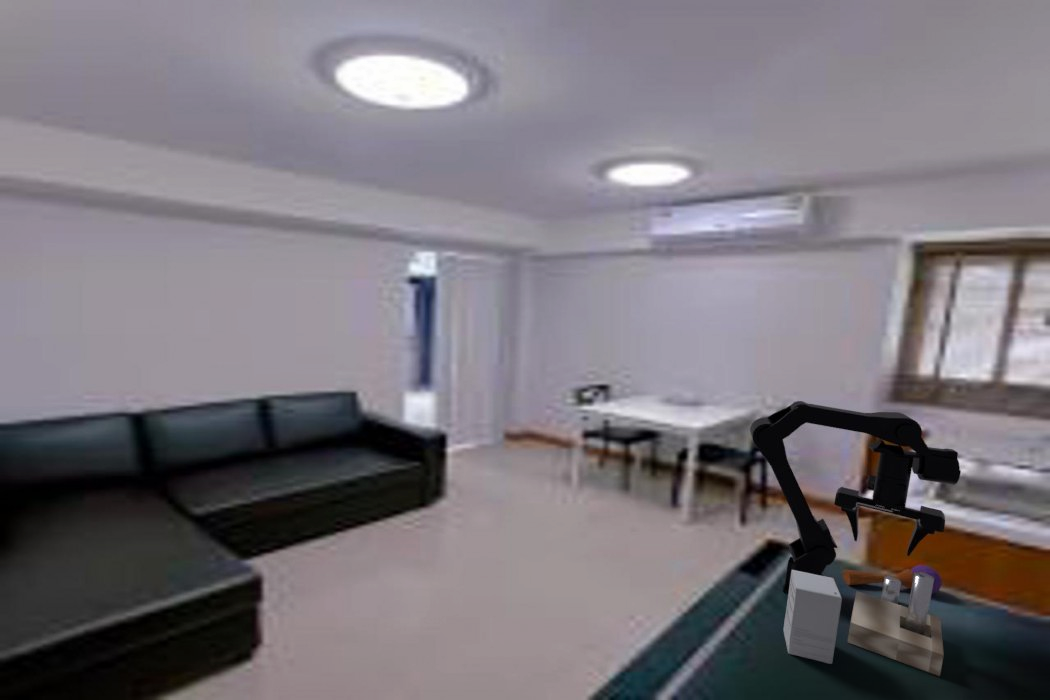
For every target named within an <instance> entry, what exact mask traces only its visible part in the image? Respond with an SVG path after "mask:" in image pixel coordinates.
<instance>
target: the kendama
mask: <svg viewBox="0 0 1050 700" xmlns="http://www.w3.org/2000/svg"><path fill="white" fill-rule="evenodd" d="M915 572H922V573H926V574H928V575H930V576H932V577H933V578H934V582H933V588H932V593H931V595H934V594H935V593H937V592H939V591H940V589H941V587H942V585H943V582H942V576H941V575H940V573H938V571H936V570H935V569H934V568H933V567H931V566H929V565H925V564H924V565H922V564H921V565H920V564H919V565H916V566H914V567H912V568H911V569H909V568H907V569H905V570H902V571H900V572H898V573H896V574H895V575H890V576H891V577H895V578H897V579H899V580H900V581H901V586H903V587H905V588H908V589H910V590H911V589H912V583H913V577H914V573H915ZM885 576H889V575H887V574H879V573H872V572H867V571H866V572H865V571H858V570H851V569H844V570H843V571H842V579H843V582H844V583H845V584H846V585H847V586H857V585H867V584H879V583H884V578H885Z"/></svg>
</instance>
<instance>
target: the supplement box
mask: <svg viewBox="0 0 1050 700" xmlns="http://www.w3.org/2000/svg"><path fill="white" fill-rule="evenodd" d="M787 594H788V595H787V603H786V609H785V615H784V622H783V623H784V624H783V630H782V631H783V635H784V640H785V644H786V645H785V646H786V649H787V654H789V655H792V656H798V657H801V658H805V659H810V660H814V661H818V662H820V663H821V662H822V663H824V664H829V665H832V664H833V660H834V653H835V647H836V643H837V642H836V641H837V635H838V627H839V623H840V622H839V621H840V616H841V615H840V614H841V609H842V608H841V607H842V603H843V602H842V601H843V597H842V596H841V593H840V590H839V588H838V586H837V583H836V582H835V579H834V577H831V576H830V577H829V576H825V575H824V576H820V575H815V574H810V573H806V572H801V571H796V570H792V571H791V578H790V586H789V593H787Z"/></svg>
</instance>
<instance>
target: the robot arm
mask: <svg viewBox="0 0 1050 700" xmlns="http://www.w3.org/2000/svg"><path fill="white" fill-rule="evenodd" d="M805 424H812V425H817V426H822V427H829V428H834V429H839V430H845V431H851V432H856V433H861V434H867V435H869V436H871V437H872V436H873V437H875V438H876V439H877V438H878V439H877V440H876V441H874V442H872V443H870V444H869V445H868V448H869V449H871V451H872V452H873V453H879V455H878V456H879V457H878V462H877V469H876V475H873V474H868V477H867V483H866V490H868V491H872V498H870V497H864V496H860V495H859V494H860V490H856V489H851V488H847V487H844V486H843V487H842V486H841V487H838V489H837V491H836V493H835V498H834V504H833V505H835V506H836V507H840V511H841V512H843V513H845V514H846V516H847V519H848V521H849V523H850V527H851V531H852V536H853V540H854V541H855V542H858V536H859V507H863V508H868V509H870V510H872V509H873V510H876V511H880V512H884V513H888V514H892V515H896V516H901V517H903V518H904V517H905V518H907V519H908V518H909V519H911V520H915V524H914V527H913V531H912V533H911V536H910V540H909V542H908V545H907V551H906V556H907V557H910V556H911V554H912V553H913V551H914V550H915V549H916V547H918V545H919V543H920V542H921V541H922V540H924V538H925V537H927V536H928V535H935V534H936V533H935V532H939V533H944V531H945V525H946V517H945V513H944V511H942V509H941V510H940V509H937V508H933V507H927V506H923V505H920V508H919V510H918V509H914V508H909V507H906V504H907V499H908V494H909V488H910V487H909V486H910V481H911V476H912V473H914V474H915V475H917V477H918V479H919V480H921V481H928V482H934V483H941V484H946V485H947V484H948V485H952V486H953V485H956V484H957V483H958V482H959V480H960V477H961V469H960V461H959V459H958V456H959V452H958V451H956V450H955V449H954V448H938V447H937V448H936V447H931V446H928V444H926V442H925V440H924V439H923V437H922V436H923V435H922V434H923V429H922V427H921V425H920V424H919V423H918V421H916V420H914V419H913V418H912V417H909V416H908V415H906V414H904V413H903V412H900V411H899V412H898V411H897V412H896V411H878V412H877V411H876V412H861V411H854V410H849V409H843V408H837V407H831V406H825V405H820V404H819V405H818V404H814V403H807V402H805V401H802V400H798V401H794V402H793V403H791V404H790V405H789V406H787V407H784V408H782V409H780V410H778V411H776V412H774V413H772V414H770V415H769V416H767V417H760V418H757V419H755V420H754V421H753V422H752V423H751V425H750V428H749V432H750V436H751V438H752V441H753V443H754V445H755V447H756V448H757V450H758V451H759V452H760V454H761V455H762V457H763V458H764V459H765V460H766V462H767V463H768V465H770V468H771V470H772V471H773V473H774V476H775V478H776V480H777V482H778V485H779V487H780V489H781V491H782V493H783V496H784V498H785V500H786V502H787V504H788V507H789V508H790V511H791V513H792V515H793V517H794V520H795V523H796V527H797V532H798V535H799V537H798V538H797V539H796V540H794V541H792V542H790V543H789V544H788V549H789V553H790V555H791V556H790V557H789V559H788V561H787V565H786V571H785V572H786V573H785V581H784V584H783V587H782V592H783V593H787V594H789V586H790V578H791V571H792V570H796V571H801V572H806V573H810V574H815V575H820V576H825V574H823V572H824V571H825V569H826V568H827V567H828V566H829V565H831V564H832V563H833V562H834V561H835V559H836V558H837V552H836V549H838V548H839V547H838V544H836V541H835V540H834V537H833V535H832V534H831V531H830V528H829V526H828V524H827V523H826V521H825V519H824V518H821V519H819V520H817V518H816V517H815V516H814V515H813V512H812V511H811V508H810V506H809V505H808V501H807V500H806V497H805V495H804V493H803V491H802V489H801V487H800V485H799V483H798V480H797V478H796V476H795V474H794V472H793V468H791V465H790V462H789V460H788V457H787V452H786V447H785V443H784V439H786V438H788V437H790V435H792V434H793V433H794V432H795V431H797V430H798V429H799V428H800V427H802V426H803V425H805ZM886 442H888V443H886ZM889 443H890V444H889ZM905 447H906V448H907V447H908V448H909V449H911V450H912V451H911V450H905V449H904V448H905Z"/></svg>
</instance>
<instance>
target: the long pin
mask: <svg viewBox="0 0 1050 700" xmlns="http://www.w3.org/2000/svg"><path fill="white" fill-rule="evenodd" d="M933 582H934V578H933V577H932V576H930V575H928V574H926V573H922V572H915V573H914V577H913V583H912V589H910V596H909V599H908V600H909V601H908V606H907V607H908V612H907V617H906V623H905V629H906V630H909V631H912V632H915V633H918V634H921V635H924V632H925V627H926V621H927V616H928V614H929V610H930V603H931V600H932V594H931V593H932V588H933Z"/></svg>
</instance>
